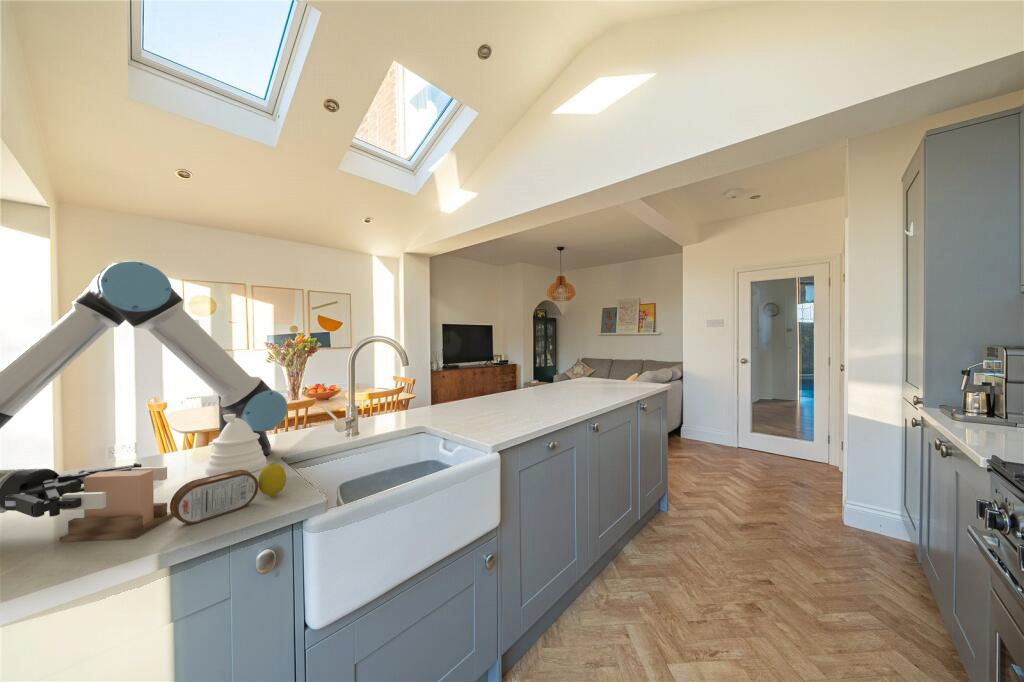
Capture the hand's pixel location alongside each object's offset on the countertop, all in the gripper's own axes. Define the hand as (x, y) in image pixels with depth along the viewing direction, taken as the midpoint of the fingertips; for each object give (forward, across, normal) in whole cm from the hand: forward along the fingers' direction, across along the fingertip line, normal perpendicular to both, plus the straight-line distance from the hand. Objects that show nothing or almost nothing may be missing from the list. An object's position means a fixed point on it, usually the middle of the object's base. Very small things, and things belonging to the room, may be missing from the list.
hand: (137, 485), depth 76 cm
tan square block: (-3, 0, -8) cm, 8 cm away
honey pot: (+5, -23, -9) cm, 25 cm away
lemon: (+19, -13, -8) cm, 24 cm away
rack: (-3, 0, -8) cm, 9 cm away
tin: (+12, -4, -9) cm, 15 cm away
